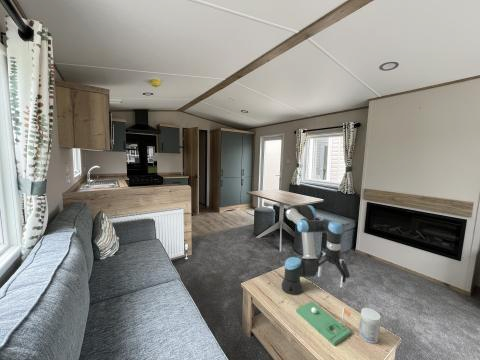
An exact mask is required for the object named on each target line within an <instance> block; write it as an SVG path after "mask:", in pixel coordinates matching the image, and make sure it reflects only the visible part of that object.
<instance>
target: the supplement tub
mask: <svg viewBox="0 0 480 360" xmlns="http://www.w3.org/2000/svg"><path fill="white" fill-rule="evenodd" d="M381 318H382V317H381V315H380V313H379V312H378V311H377V310H376V309H373V308H370V307H363V308H362V309H361V311H360V318H359V319H360V320H359V327H358V329H359V330H358V333H359V336H360V337H361V339H363V340H364V341H366V342H368V343H371V344H377V342H379V337H380V329H381V328H380V327H381V321H382V319H381Z"/></svg>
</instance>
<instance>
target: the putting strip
mask: <svg viewBox="0 0 480 360" xmlns="http://www.w3.org/2000/svg"><path fill="white" fill-rule="evenodd" d="M313 307H315V308H316V309H317V313H315V314H314V313H312V311H311V309H312V308H313ZM295 309H296V310H295V312H296V314H297V315H299V316H300V317H301V318H303V320H305V321H306V322H307V324H309V325H310V326H311V327H312V328H314V329H315V330H316V331H317V332H318V333H320V335H321V336H322V337H324V339H326V340H327V341H328V342H330V344H331V345H333V346H337V345H338V344H339V343H341V342H342V341H343V340H344V339H346V338H347V337H348V336H350V335H351V334H352V333H351V332H352V331H351V330H350V329H349V328H347V327H346V326H345V325H344V321H345V320H344V318H345V315H346V316H348V317H349V318H350V317H351V312H350V311H349V310H347V309H346V308H345V307H342V316H341V322H340V321H338V319H336V318H335V317H333V316H332V315H331V314H330V313H328V312H327V311H325V310H324V309H323V308H321V306H319V305H318V304H316V303H315V302H314V301H309V302H307V303H306V304H303V305H301V306H300V307H299V306H298V308H295ZM332 330H335V331H332Z"/></svg>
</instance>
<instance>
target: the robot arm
mask: <svg viewBox="0 0 480 360" xmlns="http://www.w3.org/2000/svg"><path fill="white" fill-rule="evenodd" d="M284 214H285V217H286V218H287V220H289V221H292V222H293V223H294V224H296V228H297V231H298V232H299V233H301V239H302V241H301V242H302V252H303V255H302V257H301V258H299V257H296V256H291V257H288V258H286V259H285V263H284V274H283V275H284V276H283V277H284V278H283V279H282V282H281V290H282V291H283V292H284V293H286V294H288V295H291V296H297V295H300V294H301V293H302V291H303V287H302V283H301V278H311V277H312V278H316V277H319V278H320V277H321V276H322V270H323V269H322V268H323V264H324V263H326V262H328V263H329V264H330V263H331V264H332V265H335V267H336V268H337V269H338V271H339V273H340V275H341V277H340V286H339V287H340V288H343V287H344V283H346V281H347V279H349V278H350V277H351V275H350V271H349V269H348V267H347V264H346V259H345V258H343V259H342V258H341V257H340V255H341V246H342V237H343V230H344V229H343V224H342V223H341V222H338V221H331V220H330V219H327V218H324V217H323V218H320V219H319V220H318V219H317V217H316V216H317V211H316V209H315V208H314V206H313V205H312V204H311V205H309V204H292V205H289V206H288V207H287V208H286V209H285V213H284ZM316 219H317V220H316ZM314 233H325V234H326V235H327V237H326V238H327V239H326V250H322V251H321V252H320V254H319V257H317V256H316V250H315V249H316V247H315V239H314ZM323 257H325V259H323V260H322V261H321V259H322V258H323Z"/></svg>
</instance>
